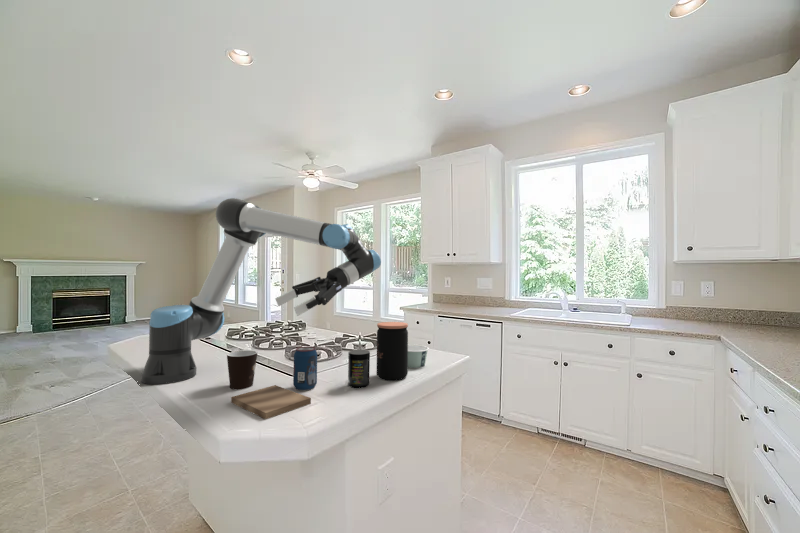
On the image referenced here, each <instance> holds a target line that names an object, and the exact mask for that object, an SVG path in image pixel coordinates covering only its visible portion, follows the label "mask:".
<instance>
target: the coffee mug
mask: <svg viewBox="0 0 800 533" xmlns="http://www.w3.org/2000/svg"><path fill="white" fill-rule="evenodd" d="M257 358H258V351H257V350H249V349H248V350H247V349H246V350H236V351H231V352H228V353H227V354H226V361H227V369H228V380H229V388H230V389H231V390H245V389H249V388H251V387H253V385H254V381H255V379H254V378H255V373H256V367H257Z"/></svg>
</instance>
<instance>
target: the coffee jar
mask: <svg viewBox="0 0 800 533" xmlns="http://www.w3.org/2000/svg"><path fill="white" fill-rule="evenodd" d="M376 326H377V328H378V329H377V330H376V375H377V378H378V379H380V380H382V381H388V382H391V381H392V382H394V381H395V382H396V381H402V380H405V378H406V377H407V376H408V369H409V367H408V345H409V332H408V329H407V328H408V327H409V324H408V323H407V322H404V321H403V322H401V321H383V322H381V321H380V322H378V323H377V324H376Z"/></svg>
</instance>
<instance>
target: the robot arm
mask: <svg viewBox="0 0 800 533" xmlns="http://www.w3.org/2000/svg"><path fill="white" fill-rule="evenodd" d="M215 218H216V221H217V223H218V225H219V226H221V228H223V229H224V230H223V234H224V236H225V239H223V243H222V245H221V247H220V249H219V251H218V252H217V255H216V257H215V259H214V261H213V263H212V266H211V268H210V270H209V272H208V275H207V276H206V279H205V280H204V282H203V285H202V287H201V289H200V291H199V292H198V295H196V296H194V297H192V298H191V300H190V301H189V303H188V304H175V305H174V304H172V305H167V306H162V307H161V306H160V307H158V308H156V309H154V310H152V311H151V313H150V318H149V321H148V322H149V323H148V324H149V332H148V333H149V337H148V338H149V339H148V340H149V341H148V342H149V343H148V344H149V345H148V358H147V360H146V362H145V364H144V367H143V370H142V372H141V376H140V378H141V379H140V380H141V383H143V384H147V385H163V384H164V385H165V384H170V383H171V384H172V383H177V382H181V381H185V380H189V379H191V378H194V377H195V376H196V375H197V365H196V362H195V360H194V356H193V353H192V341H194V340H199V339H206V338H208V337H212V336H213V335H215V334H217V333H218V332H219V331H221V329H222V327H223V326H224V324H225V314H224V311H225V306H224V304H223V303H224V301H225V299H226V297H227V295H228V293H229V290H230V288H231V287H232V285H233V283H234V280H235V277H236V276H237V273H238V272H239V270H240V267H241V265H242V263H243V261H244V259H245V257H246V255H247V252H248V251H249V249H250V248H251V247H254V246H255V245H256V244H257V242H258V240H259V238H261V237H264V236H265V235H266V234H267V235H272V236H277V237H281V238H287V239H291V240H295V241H300V242H304V243H308V244H314V245H318V246H322V247H326V248H331V249H335V250H338V251H341V252H343V254H344V256H345V258H346V260H347V261H345V262H343V263H341V264H339V265H337V266H336V267H334V268H332V269H330V270H328V271H327V272H326V277H324V278H321V276H317V277H316V278H315V277H314V278H313V279H311V280H307V281H304V282H301V283H299V284H295V285H293V286H291V288H292V289H291V290H289V291H286V292H285V293H283V294H281V295H280V296H278V297H275V298H274V299H275V302H276V304H277V306H278V307H280V306H283V305H285V304H286V303H288V302H290V301H292V300H293V299H295V298H299V296H301V295H304V294H308V293H313V292H315V293H316V292H318V293H317V294H315V295H314V296H311V297H310V298H309V299H306V300H305V301H303V302H301V303H299V304H297V305H295V306H294V307H293V309H294V312H295V314H296V316H297V317H298V316H301V315H302V314H304V313H306V312H308V311H310V310H311V309H313V308H314V307H316V306H320V305H321V306H326V305H327V304H328V303H329V302H330V301H331V300H332V299H333V298H334V297H335V296H336V295H337V294H338V293H339V292H341V291H342V290H343V289H346V288H347V287H348V286H351V285H354V283H355V282H358V281H359V280H361V279H362V278H364V277H366V276H368V275H370V274H372V273H373V272H375V271H376V270H378V269H379V268H380V267H381V264H382V259H381V256H380V254H379V253H378V252H377V251H376V250H374V249H367V248H366V246H365V245H364V243H363V242H362V241H361V239H360V238H359V236H358V235H357V233H356V231H355V229H353V227H352V226H351V224H349V223H346V224H342V225H341V224H337V223H328V222H324V221H320V220H315V219H310V218H305V217H300V216H297V215H293V214H288V213H283V212H278V211H272V210H269V209H265V208H261V207H259V206H258V205H256V204H253V203H250V202H247V201H244V200H243V199H239V198H235V197H234V198H233V197H231V198H226V199H223V201H221V202H220V203H219V204H218V205H217V207H216V210H215Z"/></svg>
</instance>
